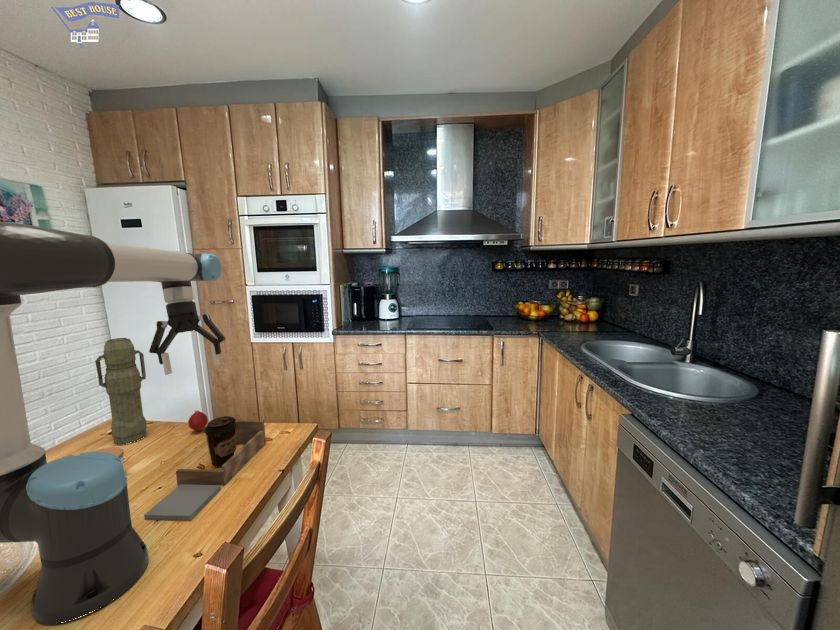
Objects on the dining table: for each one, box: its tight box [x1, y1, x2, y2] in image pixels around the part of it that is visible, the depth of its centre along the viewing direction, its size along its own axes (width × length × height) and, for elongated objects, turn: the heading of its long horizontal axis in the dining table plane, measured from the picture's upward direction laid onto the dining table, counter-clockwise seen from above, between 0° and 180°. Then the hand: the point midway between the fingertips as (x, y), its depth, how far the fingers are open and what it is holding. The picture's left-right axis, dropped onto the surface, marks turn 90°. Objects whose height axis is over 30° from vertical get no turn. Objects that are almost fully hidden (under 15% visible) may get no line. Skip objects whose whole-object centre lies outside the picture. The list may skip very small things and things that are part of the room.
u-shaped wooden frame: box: [175, 419, 266, 487], centre depth 99 cm, size 22×13×8 cm, turn 178°
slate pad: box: [143, 485, 222, 522], centre depth 82 cm, size 11×11×1 cm
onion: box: [187, 409, 209, 432], centre depth 119 cm, size 6×6×8 cm
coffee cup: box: [203, 415, 237, 469], centre depth 99 cm, size 9×8×13 cm
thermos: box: [94, 337, 148, 445], centre depth 112 cm, size 9×12×35 cm
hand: (193, 369), depth 103 cm, fingers open, 13 cm apart
